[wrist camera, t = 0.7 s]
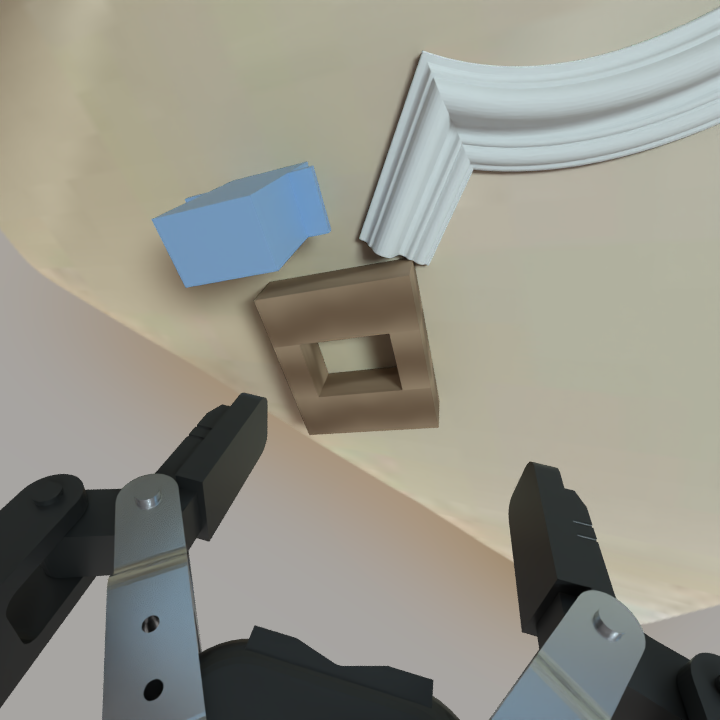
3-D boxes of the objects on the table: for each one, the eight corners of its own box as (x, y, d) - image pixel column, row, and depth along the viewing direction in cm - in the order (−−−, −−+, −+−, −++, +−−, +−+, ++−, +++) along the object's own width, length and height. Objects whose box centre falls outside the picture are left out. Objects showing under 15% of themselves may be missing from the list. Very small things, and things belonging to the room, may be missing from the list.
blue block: (214, 185, 31) (129, 224, 22) (327, 156, 28) (277, 188, 20) (235, 238, 33) (164, 291, 24) (342, 215, 30) (303, 266, 22)
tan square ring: (270, 282, 34) (253, 300, 31) (413, 256, 31) (409, 275, 28) (319, 410, 41) (309, 434, 39) (439, 401, 38) (438, 427, 35)
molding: (384, 277, 33) (379, 293, 31) (308, 119, 28) (295, 124, 25) (1327, -92, 17) (1470, -118, 14) (1606, -660, 11) (1910, -851, 9)
